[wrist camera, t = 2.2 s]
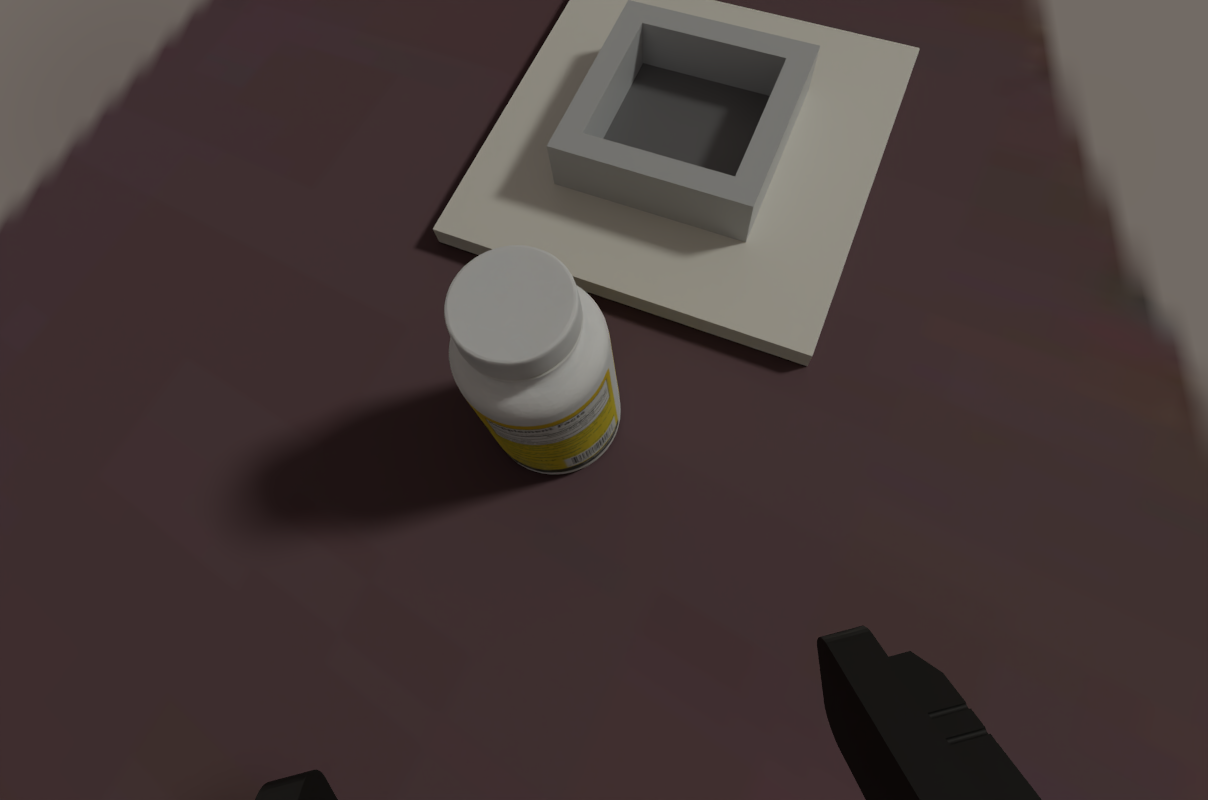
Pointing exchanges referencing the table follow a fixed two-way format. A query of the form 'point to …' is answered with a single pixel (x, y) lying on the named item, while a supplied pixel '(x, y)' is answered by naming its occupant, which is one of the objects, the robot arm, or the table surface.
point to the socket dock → (690, 162)
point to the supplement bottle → (533, 358)
